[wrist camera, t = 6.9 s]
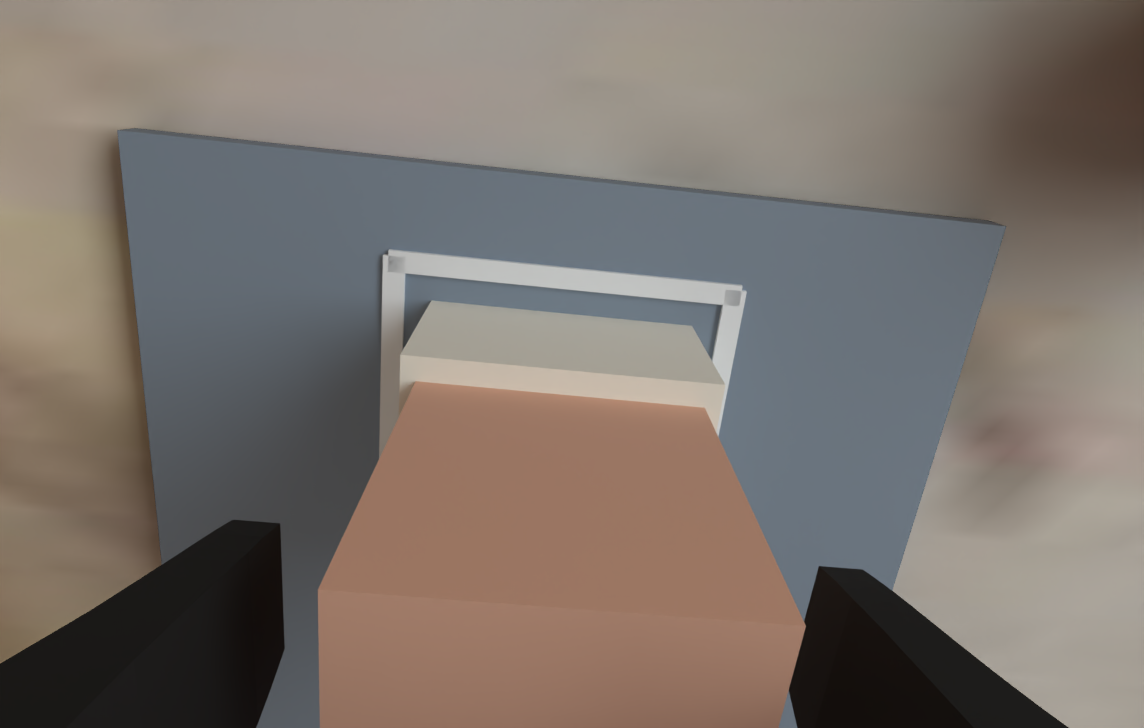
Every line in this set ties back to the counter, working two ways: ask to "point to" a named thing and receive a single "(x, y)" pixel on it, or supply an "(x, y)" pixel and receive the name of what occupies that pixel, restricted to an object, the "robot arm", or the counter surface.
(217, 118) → the counter surface
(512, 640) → the terracotta block
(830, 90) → the counter surface
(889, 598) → the robot arm
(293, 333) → the board
